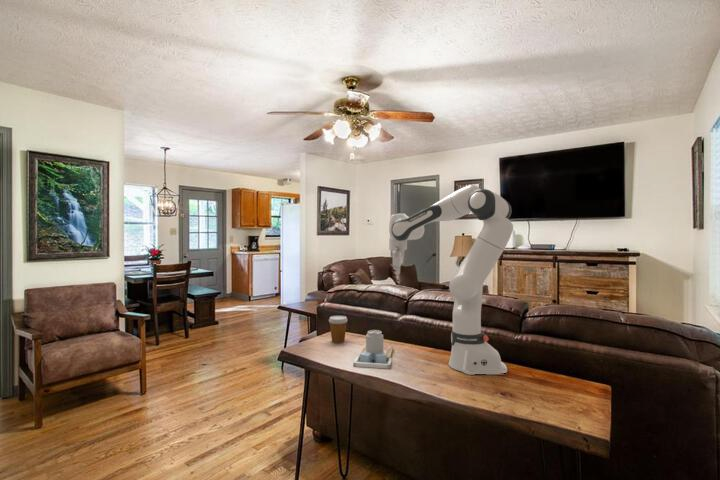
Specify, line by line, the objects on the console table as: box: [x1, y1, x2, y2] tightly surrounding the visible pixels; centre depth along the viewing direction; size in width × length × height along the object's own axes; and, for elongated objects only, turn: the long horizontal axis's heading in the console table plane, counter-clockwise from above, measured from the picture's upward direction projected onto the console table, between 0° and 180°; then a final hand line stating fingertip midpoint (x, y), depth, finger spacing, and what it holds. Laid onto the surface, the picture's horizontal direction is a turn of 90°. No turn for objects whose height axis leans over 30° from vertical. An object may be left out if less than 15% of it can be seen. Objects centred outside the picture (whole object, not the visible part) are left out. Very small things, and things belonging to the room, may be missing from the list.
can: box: [365, 329, 384, 362], centre depth 155 cm, size 8×8×12 cm
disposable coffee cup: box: [328, 315, 348, 344], centre depth 181 cm, size 10×10×12 cm
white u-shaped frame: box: [352, 355, 393, 370], centre depth 149 cm, size 15×8×2 cm, turn 79°
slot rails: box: [358, 344, 394, 363], centre depth 161 cm, size 13×16×2 cm
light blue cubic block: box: [359, 351, 374, 363], centre depth 151 cm, size 4×4×4 cm
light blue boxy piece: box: [373, 351, 387, 364], centre depth 150 cm, size 4×4×4 cm
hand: (398, 274), depth 178 cm, fingers closed
